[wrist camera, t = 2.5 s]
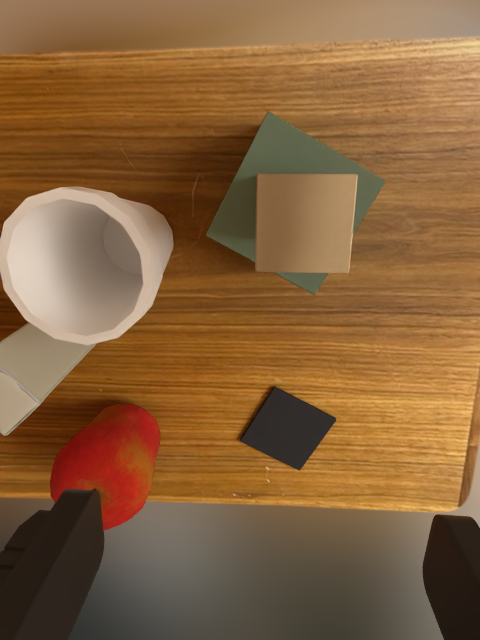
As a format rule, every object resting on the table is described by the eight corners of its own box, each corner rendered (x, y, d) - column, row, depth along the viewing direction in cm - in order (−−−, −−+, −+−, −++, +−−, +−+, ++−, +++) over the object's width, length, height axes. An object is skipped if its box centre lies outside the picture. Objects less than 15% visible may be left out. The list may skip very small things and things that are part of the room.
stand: (364, 179, 35) (386, 180, 28) (306, 274, 37) (314, 295, 31) (268, 123, 34) (267, 111, 27) (216, 224, 37) (205, 235, 30)
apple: (171, 464, 45) (139, 559, 34) (93, 458, 45) (36, 550, 34) (170, 392, 42) (134, 470, 31) (87, 386, 43) (22, 461, 31)
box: (39, 325, 41) (-59, 389, 29) (67, 296, 40) (-23, 349, 27) (80, 363, 42) (3, 440, 30) (109, 335, 41) (40, 403, 28)
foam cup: (138, 159, 35) (69, 151, 23) (212, 244, 37) (185, 278, 25) (64, 234, 38) (-34, 263, 25) (138, 310, 40) (79, 371, 27)
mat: (335, 417, 42) (336, 419, 42) (299, 468, 44) (299, 470, 44) (274, 385, 41) (274, 387, 41) (240, 438, 43) (240, 441, 43)
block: (328, 174, 28) (358, 173, 19) (323, 242, 30) (349, 273, 20) (260, 174, 28) (256, 173, 19) (259, 241, 30) (254, 272, 20)
